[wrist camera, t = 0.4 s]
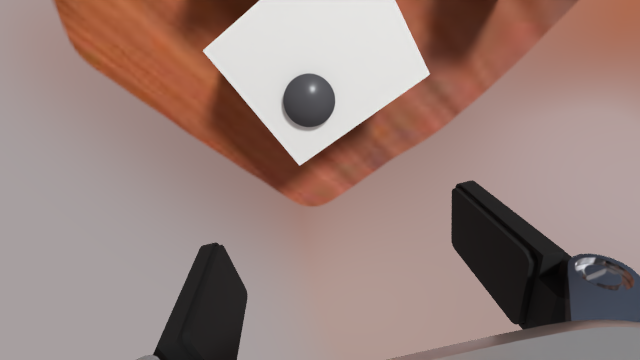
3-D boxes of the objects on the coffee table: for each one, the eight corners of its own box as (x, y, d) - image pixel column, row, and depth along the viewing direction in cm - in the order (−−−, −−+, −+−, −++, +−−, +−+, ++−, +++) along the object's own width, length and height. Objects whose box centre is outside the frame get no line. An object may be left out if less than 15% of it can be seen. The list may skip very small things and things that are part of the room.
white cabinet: (227, 48, 33) (200, 50, 23) (336, -47, 29) (356, -89, 20) (298, 137, 39) (299, 168, 29) (395, 66, 35) (432, 74, 26)
